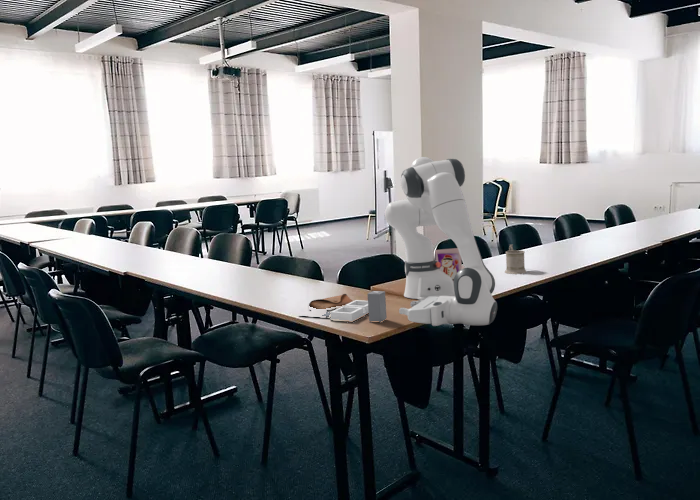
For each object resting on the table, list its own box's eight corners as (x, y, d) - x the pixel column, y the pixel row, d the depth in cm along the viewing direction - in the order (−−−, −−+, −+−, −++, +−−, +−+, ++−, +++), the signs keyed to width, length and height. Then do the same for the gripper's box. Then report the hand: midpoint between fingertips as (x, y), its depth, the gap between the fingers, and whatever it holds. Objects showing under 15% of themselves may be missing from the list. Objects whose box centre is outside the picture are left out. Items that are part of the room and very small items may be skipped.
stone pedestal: (529, 273, 260) (528, 247, 258) (507, 274, 260) (506, 248, 258) (520, 268, 274) (519, 243, 272) (500, 269, 274) (499, 244, 273)
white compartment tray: (358, 306, 217) (357, 298, 217) (379, 308, 213) (378, 299, 212) (330, 321, 199) (329, 312, 199) (352, 322, 195) (352, 313, 194)
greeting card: (436, 283, 250) (434, 250, 248) (441, 280, 257) (439, 247, 255) (461, 284, 245) (460, 250, 243) (466, 281, 252) (464, 247, 250)
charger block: (375, 318, 198) (373, 290, 197) (386, 319, 196) (384, 290, 194) (369, 322, 194) (367, 293, 193) (381, 323, 192) (379, 293, 191)
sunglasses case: (320, 313, 211) (314, 296, 213) (312, 319, 216) (306, 303, 218) (359, 304, 221) (353, 288, 223) (350, 310, 227) (344, 295, 229)
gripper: (455, 292, 191) (416, 291, 198) (433, 307, 173) (392, 305, 180) (456, 311, 192) (417, 308, 199) (434, 327, 174) (393, 324, 181)
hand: (405, 307), depth 189 cm, fingers open, 8 cm apart
